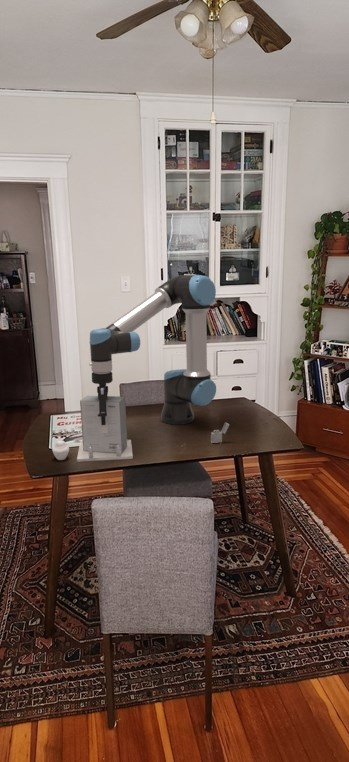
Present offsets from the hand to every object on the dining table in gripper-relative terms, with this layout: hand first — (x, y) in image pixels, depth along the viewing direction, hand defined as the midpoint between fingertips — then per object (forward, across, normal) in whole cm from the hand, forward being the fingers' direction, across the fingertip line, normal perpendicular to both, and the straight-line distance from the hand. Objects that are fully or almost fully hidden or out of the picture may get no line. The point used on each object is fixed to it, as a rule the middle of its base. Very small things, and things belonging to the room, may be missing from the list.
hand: (104, 427), depth 184 cm
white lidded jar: (+10, +5, -16) cm, 19 cm away
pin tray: (+10, 0, 0) cm, 10 cm away
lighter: (+10, -3, +45) cm, 46 cm away
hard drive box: (+9, 0, 0) cm, 9 cm away
